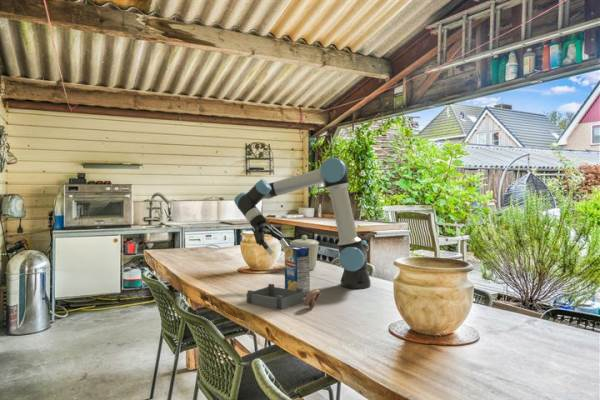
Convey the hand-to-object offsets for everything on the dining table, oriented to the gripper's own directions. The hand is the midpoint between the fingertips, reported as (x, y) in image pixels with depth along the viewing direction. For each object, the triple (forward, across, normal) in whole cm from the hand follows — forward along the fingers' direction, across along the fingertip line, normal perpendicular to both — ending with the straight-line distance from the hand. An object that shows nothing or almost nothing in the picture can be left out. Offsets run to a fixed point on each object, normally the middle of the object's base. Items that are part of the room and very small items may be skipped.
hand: (280, 251), depth 196 cm
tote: (+19, +15, -8) cm, 26 cm away
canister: (-1, -53, -28) cm, 60 cm away
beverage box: (+20, 0, -7) cm, 21 cm away
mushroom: (+33, +16, +6) cm, 37 cm away
